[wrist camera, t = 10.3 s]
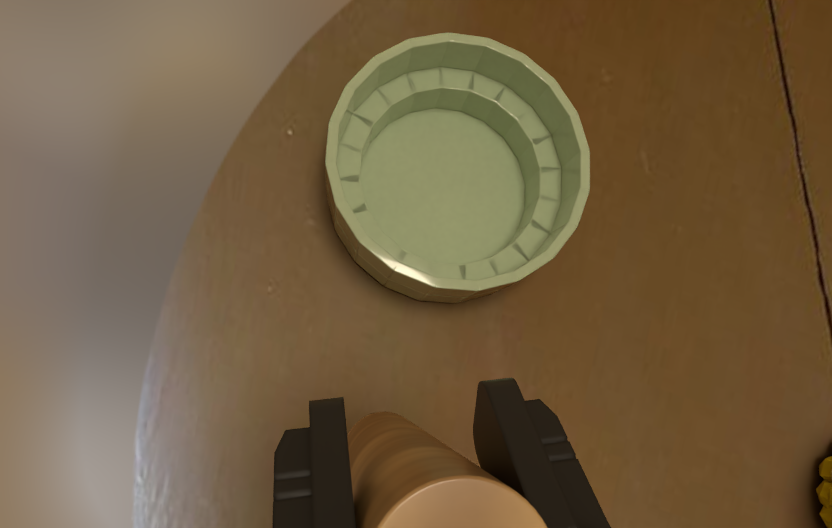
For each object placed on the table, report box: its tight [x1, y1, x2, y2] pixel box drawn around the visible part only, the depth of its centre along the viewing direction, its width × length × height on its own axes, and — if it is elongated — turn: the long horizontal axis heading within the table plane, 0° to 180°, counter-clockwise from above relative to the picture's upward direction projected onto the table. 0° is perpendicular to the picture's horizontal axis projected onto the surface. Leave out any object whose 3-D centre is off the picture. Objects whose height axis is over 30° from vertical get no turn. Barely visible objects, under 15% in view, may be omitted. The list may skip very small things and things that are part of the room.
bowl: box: [325, 33, 590, 303], centre depth 36 cm, size 15×15×6 cm
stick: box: [347, 412, 547, 528], centre depth 15 cm, size 3×3×14 cm
